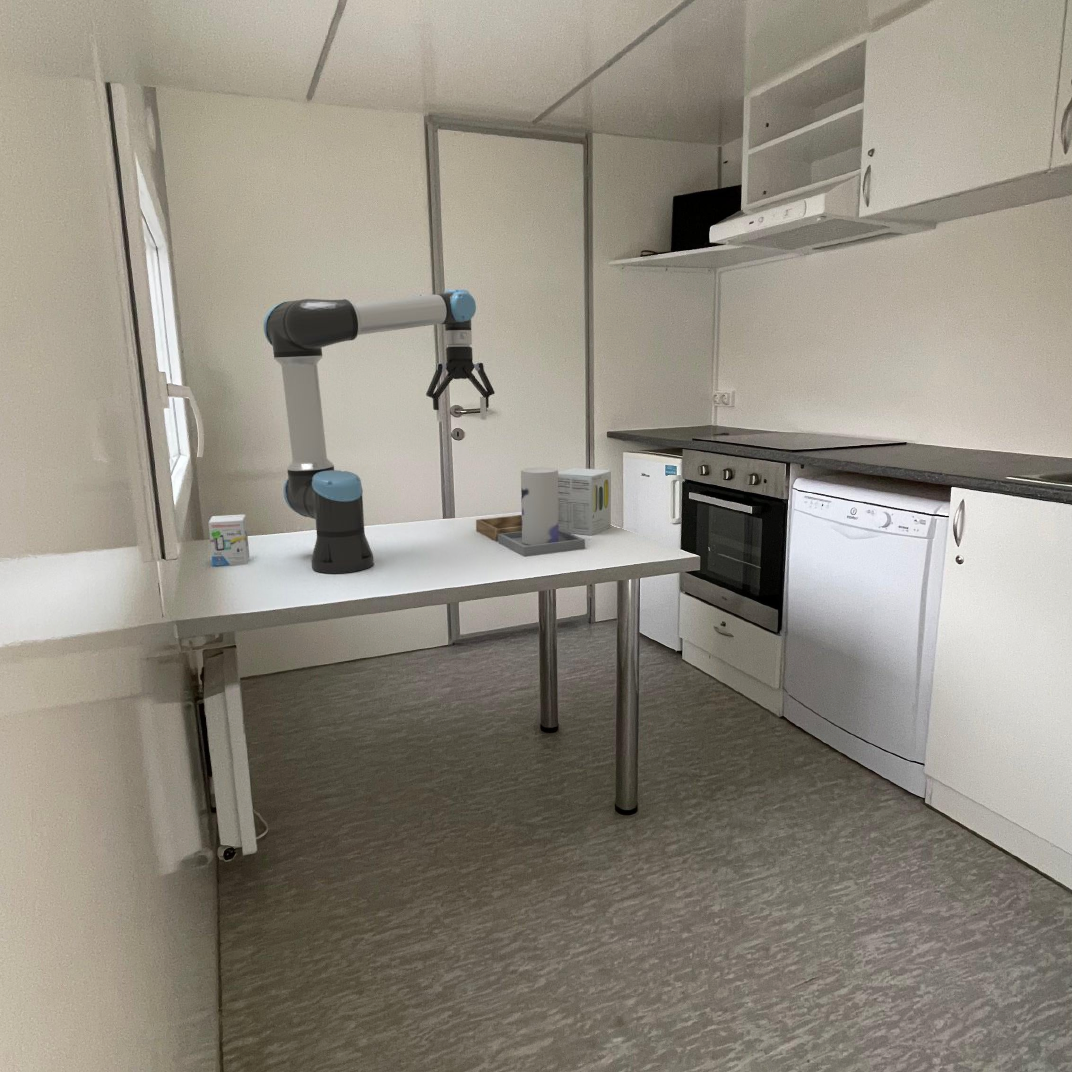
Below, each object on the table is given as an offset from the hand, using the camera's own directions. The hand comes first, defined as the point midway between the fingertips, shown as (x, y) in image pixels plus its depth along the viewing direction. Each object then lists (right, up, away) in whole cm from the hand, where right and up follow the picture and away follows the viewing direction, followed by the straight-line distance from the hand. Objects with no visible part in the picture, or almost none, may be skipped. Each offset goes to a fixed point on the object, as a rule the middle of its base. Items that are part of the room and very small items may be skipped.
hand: (461, 420), depth 228 cm
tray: (+23, -36, -15) cm, 46 cm away
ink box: (-57, -41, -26) cm, 75 cm away
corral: (+15, -33, +1) cm, 36 cm away
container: (+23, -36, -15) cm, 45 cm away
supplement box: (+36, -32, +5) cm, 48 cm away
